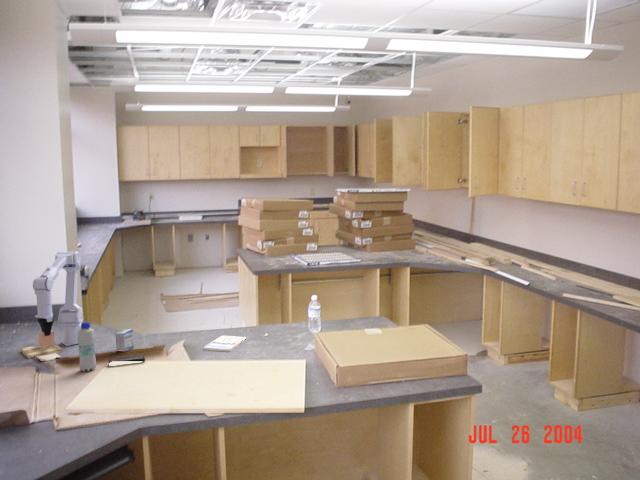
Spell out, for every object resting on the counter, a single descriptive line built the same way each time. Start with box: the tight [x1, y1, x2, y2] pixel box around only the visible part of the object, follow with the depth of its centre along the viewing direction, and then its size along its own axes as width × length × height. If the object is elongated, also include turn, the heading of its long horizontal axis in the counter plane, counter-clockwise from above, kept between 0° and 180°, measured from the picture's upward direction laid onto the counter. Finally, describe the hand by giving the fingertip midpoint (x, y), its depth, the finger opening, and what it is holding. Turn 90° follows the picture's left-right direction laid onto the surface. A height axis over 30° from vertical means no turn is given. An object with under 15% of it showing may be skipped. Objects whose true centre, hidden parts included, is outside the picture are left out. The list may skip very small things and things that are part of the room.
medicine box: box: [115, 328, 135, 352], centre depth 257 cm, size 8×4×9 cm, turn 168°
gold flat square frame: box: [20, 343, 63, 360], centre depth 256 cm, size 14×14×2 cm
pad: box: [38, 353, 61, 362], centre depth 247 cm, size 8×8×1 cm
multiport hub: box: [108, 354, 146, 364], centre depth 238 cm, size 4×14×2 cm, turn 111°
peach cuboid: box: [37, 329, 56, 347], centre depth 246 cm, size 6×2×6 cm, turn 130°
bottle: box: [77, 321, 97, 372], centre depth 229 cm, size 7×7×20 cm
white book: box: [203, 334, 247, 352], centre depth 263 cm, size 13×20×2 cm, turn 164°
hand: (46, 334), depth 246 cm, fingers closed on peach cuboid, 2 cm apart
